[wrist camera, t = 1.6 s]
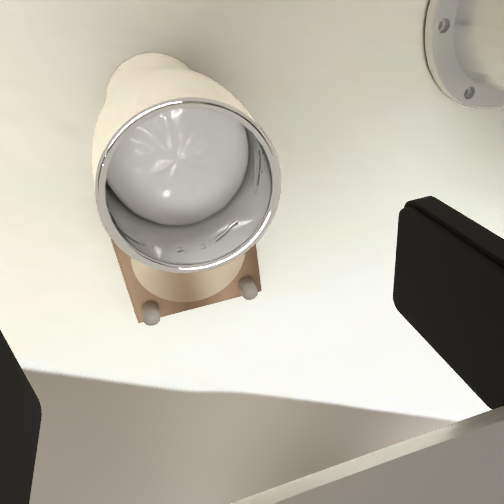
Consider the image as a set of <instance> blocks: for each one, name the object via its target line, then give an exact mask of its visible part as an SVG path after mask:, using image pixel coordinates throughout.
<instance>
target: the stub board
mask: <svg viewBox="0 0 504 504" xmlns="http://www.w3.org/2000/svg"><path fill="white" fill-rule="evenodd" d="M111 240H112V239H111ZM112 243H113V246H114V250H115V253H116V256H117V259H118V262H119V265H120V268H121V271H122V274H123V277H124V280H125V283H126V286H127V289H128V292H129V295H130V298H131V302H132V305H133V308H134V311H135V314H136V317H137V320H138V323H140V322H144V323H145V324H147V325H155V324H157V323H158V322H159V321H160V317H163V316H167V315H171V314H175V313H178V312H182V311H186V310H190V309H194V308H198V307H201V306H205V305H209V304H213V303H217V302H221V301H224V300H228V299H232V298H236V297H240V296H243V297H244V298H245V299H247V300H251V299H254V298H255V297H256V296H257V294H258V292H259V291H261V284H260V276H259V268H258V260H257V252H256V244H255V245H253V246H252V247H251V248H250V249H249V250H248V251H247V252H245V253H244V254H243V255H241V256H240V257H238V258H237V259H235V260H233V261H231V262H229V263H227V264H225V265H223V266H220V267H218V268H215V269H211V270H208V271H203V272H197V273H172V272H166V271H161V270H157V269H154V268H151V267H149V266H146V265H144V264H142V263H140V262H138V261H136V260H135V259H133V258H132V257H130V256H129V255H127V254H126V253H125V252H124V251H123V250H122V249H120V248H119V247H118V246H117V245H116V243H115V242H114V241H113V240H112Z"/></svg>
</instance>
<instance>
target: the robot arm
mask: <svg viewBox="0 0 504 504" xmlns="http://www.w3.org/2000/svg"><path fill="white" fill-rule="evenodd" d="M425 51H426V56H427V61H428V65H429V68H430V71H431V73H432V75H433V78H434V80H435V82H436V83H437V84H438V86H439V87H440V89H441V90H442V91H443V92H444V93H445V94H446V95H448V96H449V97H450V98H451V99H452V100H455V101H457V102H459V103H461V104H464V105H467V106H471V107H475V108H495V107H500V106H504V0H430V4H429V7H428V11H427V18H426V26H425ZM393 300H394V304H395V306H396V308H397V310H398V311H399V312H400V313H401V314H402V315H403V316H404V317H405V319H406V320H407V321H408V322H409V323H410V324H411V325H412V326H413V327H414V328H415V329H416V330H417V331H418V332H419V333H420V335H421V336H422V337H423V338H424V339H425V340H426V341H427V342H428V343H429V344H430V345H431V346H432V347H433V348H434V349H435V351H436V352H437V353H438V354H439V355H440V356H441V357H442V358H443V359H444V360H445V361H446V362H447V363H448V364H449V365H450V367H451V368H452V369H453V370H454V371H455V372H456V373H457V374H458V375H459V376H460V377H461V378H462V379H463V380H464V381H465V382H466V384H467V385H468V386H469V387H470V388H471V389H472V390H473V391H474V392H475V393H476V394H477V395H478V396H479V397H480V398H481V400H482V401H483V402H484V403H485V404H486V405H487V406H488V407H489V408H491V409H493V410H490V411H488V412H485V413H482V414H479V415H476V416H473V417H471V418H468V419H465V420H462V421H459V422H456V423H454V424H451V425H448V426H446V427H442V428H439V429H437V430H434V431H431V432H429V433H425V434H423V435H420V436H417V437H414V438H411V439H408V440H405V441H403V442H400V443H397V444H394V445H391V446H389V447H386V448H383V449H380V450H378V451H375V452H372V453H369V454H367V455H364V456H361V457H358V458H355V459H352V460H350V461H347V462H344V463H341V464H338V465H336V466H333V467H330V468H328V469H325V470H322V471H319V472H316V473H313V474H311V475H308V476H305V477H302V478H300V479H297V480H294V481H291V482H288V483H286V484H283V485H280V486H277V487H275V488H272V489H269V490H266V491H263V492H261V493H258V494H255V495H252V496H250V497H247V498H244V499H241V500H239V501H236V502H233V503H230V504H504V239H502V238H501V237H499V236H497V235H496V234H494V233H492V232H491V231H489V230H488V229H486V228H484V227H483V226H481V225H479V224H478V223H476V222H474V221H473V220H471V219H469V218H468V217H466V216H465V215H463V214H461V213H460V212H458V211H456V210H455V209H453V208H451V207H450V206H448V205H446V204H445V203H443V202H441V201H440V200H438V199H437V198H435V197H432V196H428V197H424V198H419V199H415V200H411V201H408V202H407V203H406V204H405V206H404V209H402V210H401V211H400V213H399V221H398V234H397V248H396V262H395V276H394V289H393ZM41 415H42V414H41V406H40V402H39V400H38V398H37V396H36V394H35V392H34V390H33V389H32V387H31V385H30V383H29V382H28V380H27V378H26V376H25V374H24V372H23V370H22V369H21V367H20V365H19V363H18V361H17V360H16V358H15V356H14V354H13V352H12V351H11V349H10V347H9V345H8V343H7V341H6V340H5V338H4V336H3V334H2V332H1V331H0V504H29V500H30V492H31V486H32V479H33V472H34V465H35V458H36V451H37V444H38V437H39V430H40V423H41Z"/></svg>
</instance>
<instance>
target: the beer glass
mask: <svg viewBox="0 0 504 504" xmlns="http://www.w3.org/2000/svg"><path fill="white" fill-rule="evenodd" d="M92 173H93V181H94V194H95V202H96V207H97V211H98V214H99V217H100V220H101V222H102V224H103V226H104V228H105V230H106V231H107V233H108V234H109V236H110V237H111V239H112V240H113V241H114V242H115V243H116V245H117V246H118V247H119V248H120V249H122V250H123V251H124V252H125V253H126V254H127V255H129V256H130V257H132V258H133V259H135V260H136V261H138V262H140V263H142V264H144V265H146V266H149V267H151V268H154V269H157V270H161V271H166V272H172V273H197V272H203V271H208V270H211V269H215V268H218V267H220V266H223V265H225V264H227V263H229V262H231V261H233V260H235V259H237V258H238V257H240V256H241V255H243V254H244V253H245V252H247V251H248V250H249V249H250V248H251V247H252V246H253V245H255V243H256V242H257V241H258V240H259V239H260V238H261V237H262V235H263V234H264V233H265V231H266V230H267V228H268V227H269V225H270V223H271V221H272V219H273V217H274V215H275V213H276V210H277V207H278V203H279V199H280V193H281V170H280V165H279V161H278V157H277V154H276V151H275V149H274V147H273V145H272V143H271V141H270V139H269V138H268V136H267V135H266V133H265V132H264V131H263V129H262V128H261V127H260V126H259V125H258V124H257V123H256V122H255V120H254V119H253V117H252V116H251V115H250V113H249V112H248V111H247V109H246V108H245V107H244V106H243V105H242V104H241V103H240V102H239V101H238V100H237V99H236V98H235V97H234V96H233V95H232V94H231V93H230V92H229V91H228V90H227V89H226V88H224V87H223V86H221V85H220V84H218V83H217V82H215V81H214V80H212V79H210V78H209V77H207V76H205V75H203V74H201V73H198V72H195V71H192V70H190V69H189V68H188V67H187V66H186V65H185V64H183V63H182V62H180V61H179V60H177V59H175V58H173V57H171V56H168V55H165V54H160V53H144V54H140V55H136V56H134V57H132V58H130V59H128V60H126V61H125V62H124V63H122V64H121V65H120V66H119V67H118V68H117V69H116V71H115V72H114V73H113V75H112V76H111V78H110V80H109V83H108V86H107V90H106V98H105V104H104V105H103V107H102V109H101V111H100V114H99V116H98V119H97V122H96V126H95V130H94V134H93V139H92Z"/></svg>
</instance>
